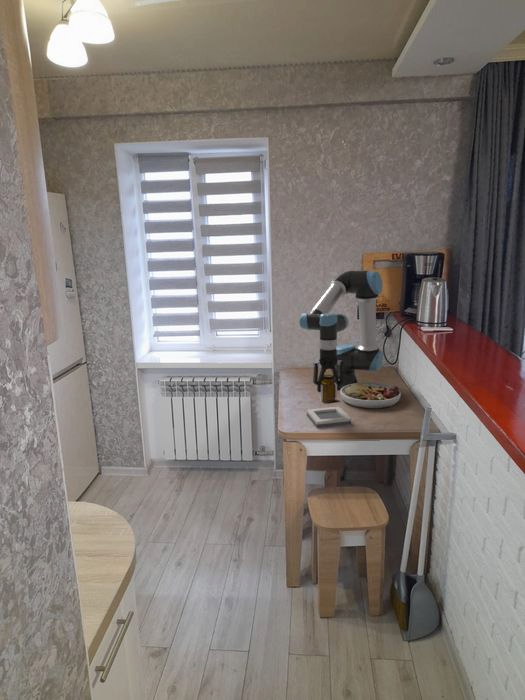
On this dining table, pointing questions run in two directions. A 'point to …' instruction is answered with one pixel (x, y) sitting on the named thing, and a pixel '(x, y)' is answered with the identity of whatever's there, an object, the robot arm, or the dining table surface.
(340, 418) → the pocket plate
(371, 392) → the bowl
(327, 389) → the condiment
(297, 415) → the dining table surface
